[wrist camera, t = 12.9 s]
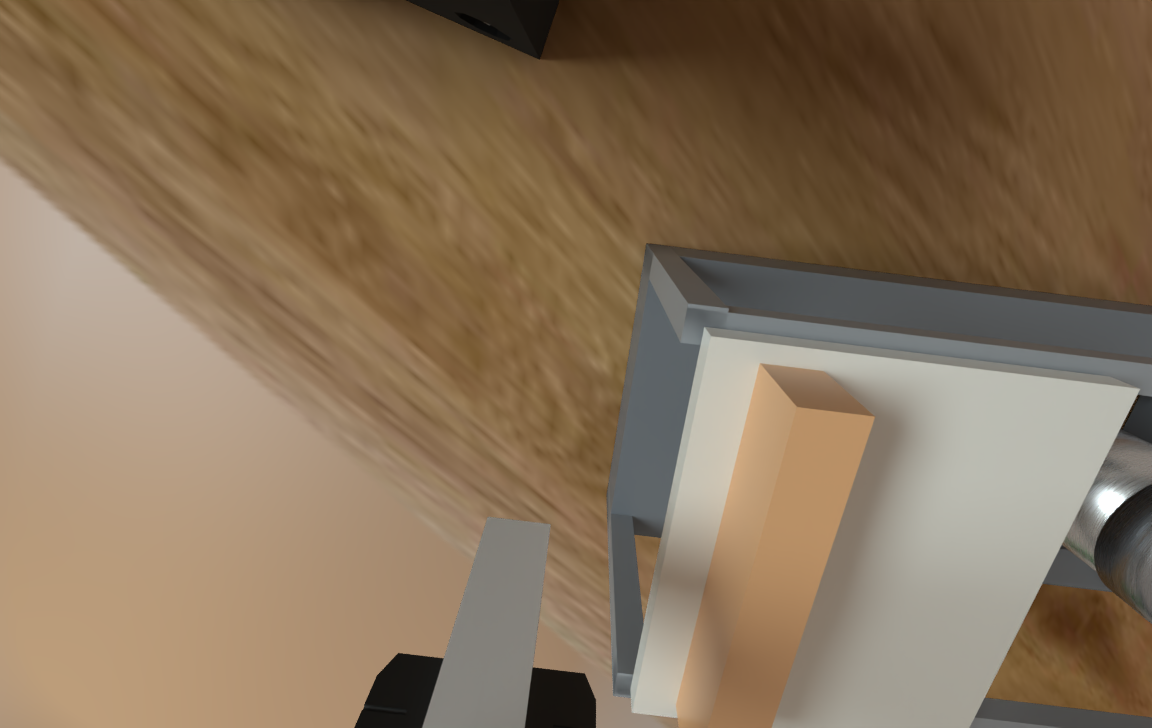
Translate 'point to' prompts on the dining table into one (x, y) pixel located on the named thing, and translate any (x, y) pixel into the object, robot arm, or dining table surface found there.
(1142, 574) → the metal cylinder
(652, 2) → the dining table surface
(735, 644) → the lid
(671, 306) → the housing
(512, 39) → the electrical component
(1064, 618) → the dining table surface
